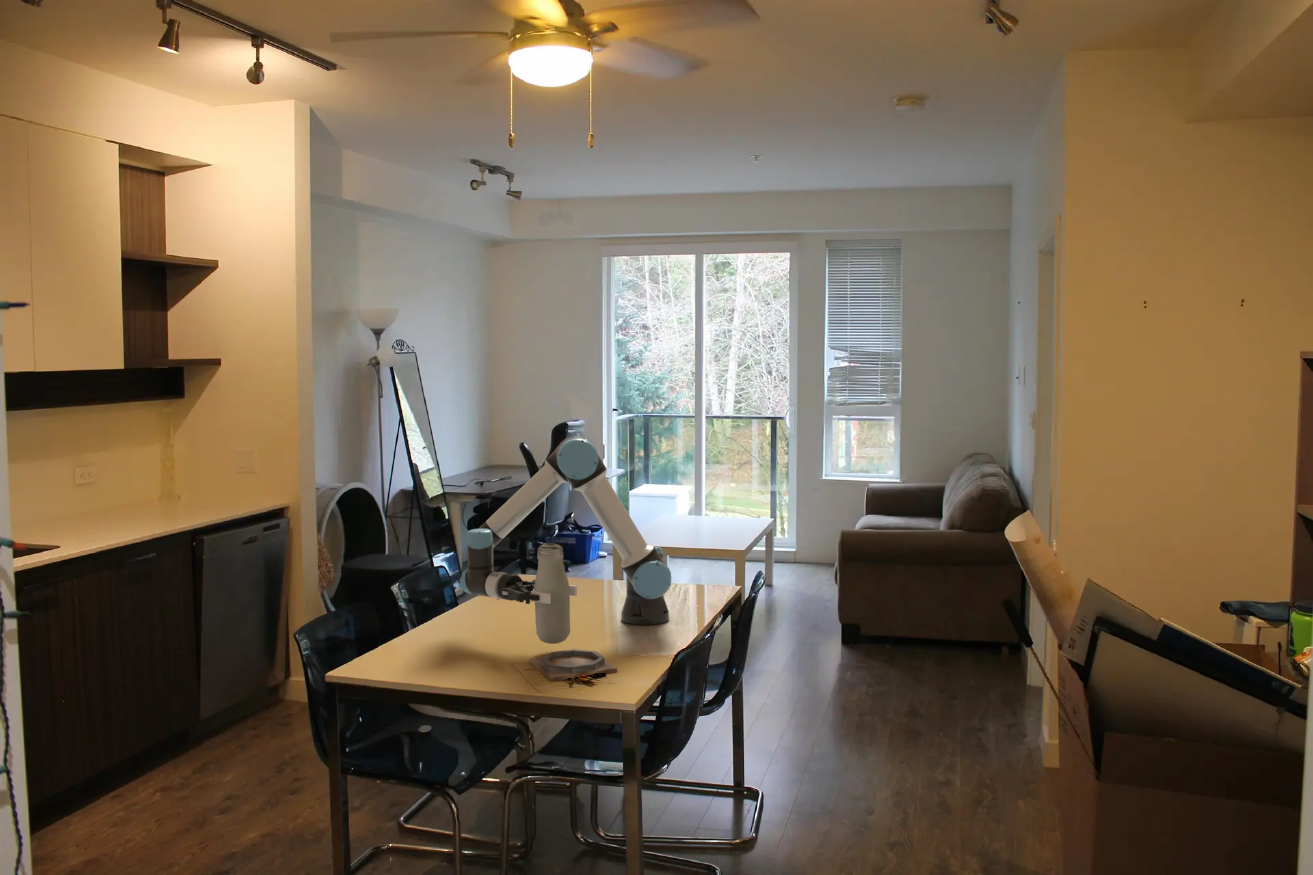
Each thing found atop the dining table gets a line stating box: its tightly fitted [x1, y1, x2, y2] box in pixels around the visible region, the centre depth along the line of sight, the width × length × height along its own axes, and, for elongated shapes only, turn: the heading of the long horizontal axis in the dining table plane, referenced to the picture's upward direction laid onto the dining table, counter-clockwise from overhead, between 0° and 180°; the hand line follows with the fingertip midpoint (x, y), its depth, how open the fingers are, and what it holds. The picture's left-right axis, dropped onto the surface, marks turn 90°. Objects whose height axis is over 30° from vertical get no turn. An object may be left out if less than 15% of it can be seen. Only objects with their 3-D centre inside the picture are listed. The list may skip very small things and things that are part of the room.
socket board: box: [529, 648, 618, 682], centre depth 260 cm, size 18×18×2 cm
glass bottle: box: [533, 542, 571, 645], centre depth 273 cm, size 10×10×28 cm
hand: (563, 594), depth 271 cm, fingers closed on glass bottle, 10 cm apart
